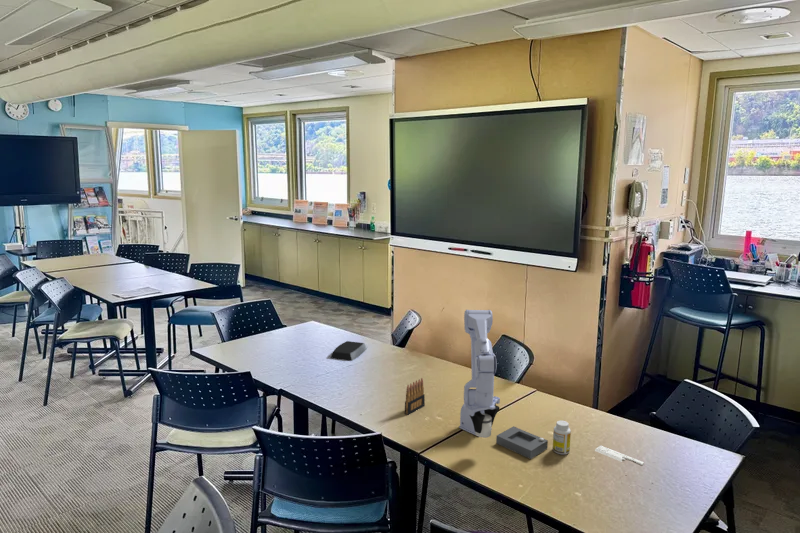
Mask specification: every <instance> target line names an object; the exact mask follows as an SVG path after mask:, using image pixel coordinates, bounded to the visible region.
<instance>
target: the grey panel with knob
mask: <svg viewBox="0 0 800 533" xmlns="http://www.w3.org/2000/svg"><path fill="white" fill-rule="evenodd" d="M495 438H496V442H495V443H496V445H499V446H501V447H503V448H505V449H507V450H509V451H511V452H514V453H516V454H519V455H521V456H522V457H525V458H527V459H530V460H532V459H533V458H535V457H536V456H538V455H540V454H542V453H543V452H544V451H546V450H547V449H548V446H549V444H548V443H549V440H547V439H545V438H544V437H541V436H538V435H536V434H533V433H531V432H528V431H526V430H524V429H521V428H518V427H516V426H512V427H509V428H508V429H506V430H504V431H501V433H498V434H497V435H496V437H495Z"/></svg>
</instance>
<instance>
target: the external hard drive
mask: <svg viewBox="0 0 800 533" xmlns="http://www.w3.org/2000/svg"><path fill="white" fill-rule="evenodd" d="M367 349H368V347H367V345H366V344H365V342H358V341H350V340H349V341H348V340H347V341H344V342H342V343H340V344H339V345H338V346H337V347H335V349H334V350H333V351H332V353H331V356H330V359H335V360H341V361H342V360H343V361H344V360H345V361H349V362H350V361H354V360H356V359H357V358H359V357H360V356H361V355H362V354H363V353H364V352H366V351H367Z"/></svg>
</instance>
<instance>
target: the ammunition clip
mask: <svg viewBox="0 0 800 533" xmlns="http://www.w3.org/2000/svg"><path fill="white" fill-rule="evenodd" d="M424 389H425V388H424V379H423V377H421V378H420V379H418V380H416V381H413V382H412V383H410V384H407V386H406V392H405V401H404V415H406V416H409V414H410V415H412V414H413V413H415V412H416V410H417V411H418V409H419V410H420V409H422V408H424V407H425V406H426V405H425V404H426V403H425V401H426V400H425V394H424V393H425V390H424Z"/></svg>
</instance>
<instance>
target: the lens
mask: <svg viewBox="0 0 800 533" xmlns="http://www.w3.org/2000/svg"><path fill="white" fill-rule="evenodd" d="M481 414H483V415H485V417H484V420H483V423H482V430H481V433H477V432H475V434H476V435H477V437H480V438H490V437H491V436H492V430H491V428H492V427H491V424H492V417H491V416H490V415H489V414H485V413H481ZM476 435H475V436H476Z"/></svg>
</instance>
